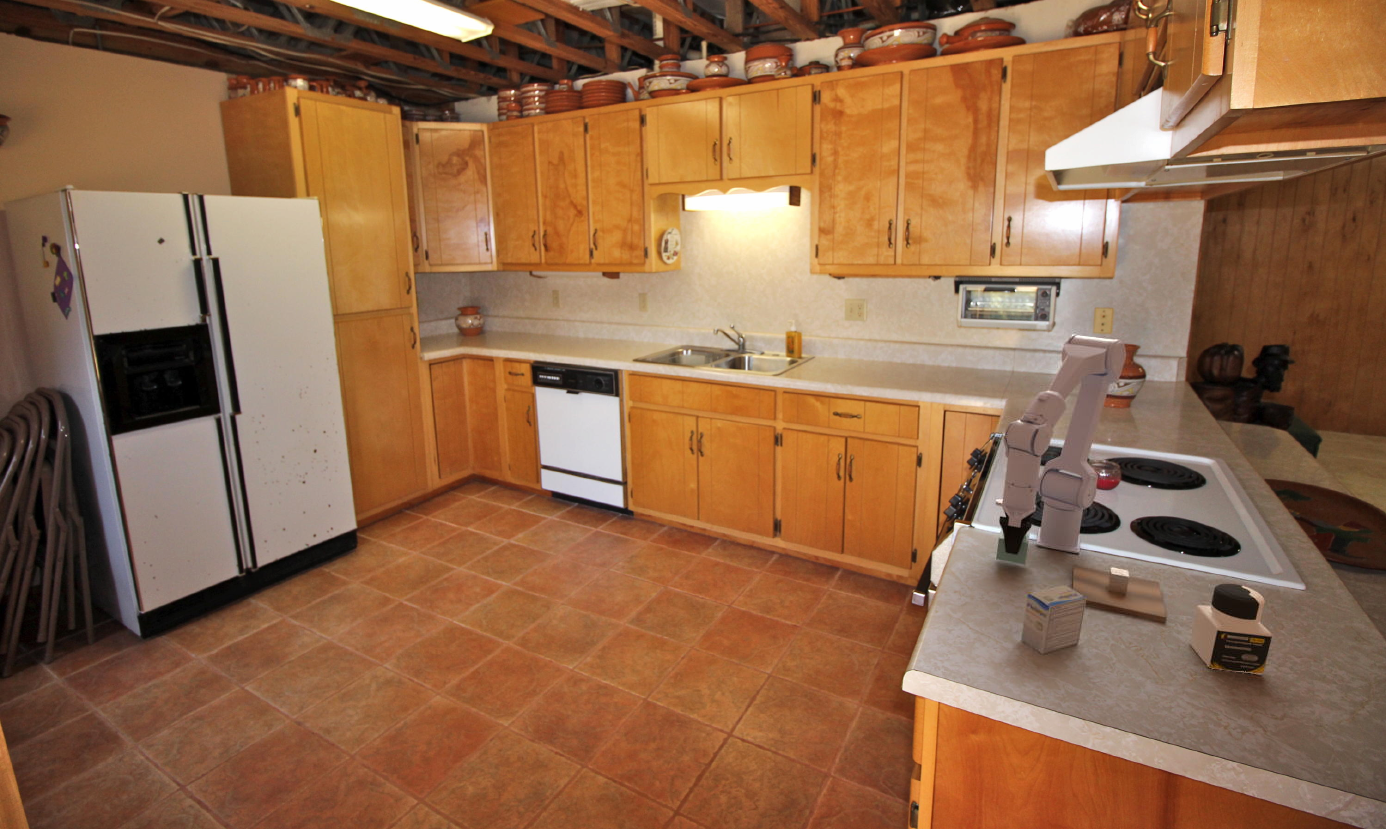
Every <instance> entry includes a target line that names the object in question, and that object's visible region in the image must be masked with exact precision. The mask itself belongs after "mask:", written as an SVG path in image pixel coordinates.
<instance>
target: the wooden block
mask: <svg viewBox="0 0 1386 829" xmlns="http://www.w3.org/2000/svg"><path fill="white" fill-rule="evenodd" d="M1109 568H1110V569H1109V572H1110V574H1109V580H1108V591H1111V592H1116V593H1120V594H1125V595H1126V593H1127V587H1128V582H1129V576H1130V572H1129V569H1122V568H1117V567H1113V566H1112V567H1109Z"/></svg>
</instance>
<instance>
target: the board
mask: <svg viewBox="0 0 1386 829" xmlns="http://www.w3.org/2000/svg"><path fill="white" fill-rule="evenodd" d="M1072 570H1073V571H1072V590H1074V591H1076V592H1078V593H1079V594H1081V595H1083V596H1084V597H1086V604H1085V606H1087V607H1088V606H1089V607H1093V608H1098V609H1102V610H1106V611H1110V612H1115V613H1121V614H1124V615H1128V616H1133V617H1137V618H1142V619H1147V620H1152V621H1156V622H1160V623H1163V624H1164V623H1166V621H1167V613H1166V610H1165V604H1164V600H1163V599H1164V598H1163V596H1162V595H1163V594H1162V590H1161V586H1160V582H1159V581H1157V580H1156V581H1155V580H1150V579H1145V578H1141V577H1140V578H1139V577H1135V576H1132V575H1131V576H1130V575H1129V582H1128V587H1127V593H1126V595H1125V594H1120V593H1116V592H1111V591H1108V580H1109V574H1110V571H1105V570H1099V569H1095V568H1090V567H1085V566H1079V565H1073V568H1072Z"/></svg>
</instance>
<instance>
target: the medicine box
mask: <svg viewBox="0 0 1386 829" xmlns="http://www.w3.org/2000/svg"><path fill="white" fill-rule="evenodd" d="M1025 604H1026V605H1025V612H1024V619H1023V623H1022V624H1023V625H1022V631H1021V641H1022V642H1023V643H1026V645H1028V646H1029V647H1031V648H1032V649H1034V650H1035V651H1036V650H1037V651H1036V652H1038V653H1039V652H1040V654H1041V655H1043V654H1046V653H1050V652H1054V651H1057V650H1060V649H1063V648H1067V647H1071V646H1074V645H1078V644H1079V642H1080V637H1081V632H1082V626H1083V620H1084V616H1085V615H1084V614H1085V608H1086V605H1085V604H1086V597H1084V596H1083V595H1081V594H1079V593H1078V592H1076V591H1074V590H1073V588H1070V587H1069V586H1066V585H1064V584H1063V585H1059V586H1055V587H1050V588H1046V589H1042V590H1038V591H1035V592H1034V591H1033V592H1031V593H1027V597H1026V603H1025Z"/></svg>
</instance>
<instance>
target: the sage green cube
mask: <svg viewBox="0 0 1386 829" xmlns="http://www.w3.org/2000/svg"><path fill="white" fill-rule="evenodd" d="M1000 528H1001V527H1000ZM1030 536H1031V535H1030V533H1029V532H1027V533H1026V535H1025V536H1024V539H1023V541H1022V544H1021V547H1020V550H1019V552H1018V554H1017V555H1015V554H1010V553H1006V551H1005V543H1004V534H1003V530H1002V528H1001V529H1000V532H999V535H998V540H997V541H998V542H997V548H996V549H997V550H996V557H995V558H996V560H1000V561H1005V562H1010V563H1014V564H1018V565H1019V564H1020V565H1024V566H1025V565H1026V562H1027V557H1028V550H1029V543H1030V542H1029V541H1030Z"/></svg>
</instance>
